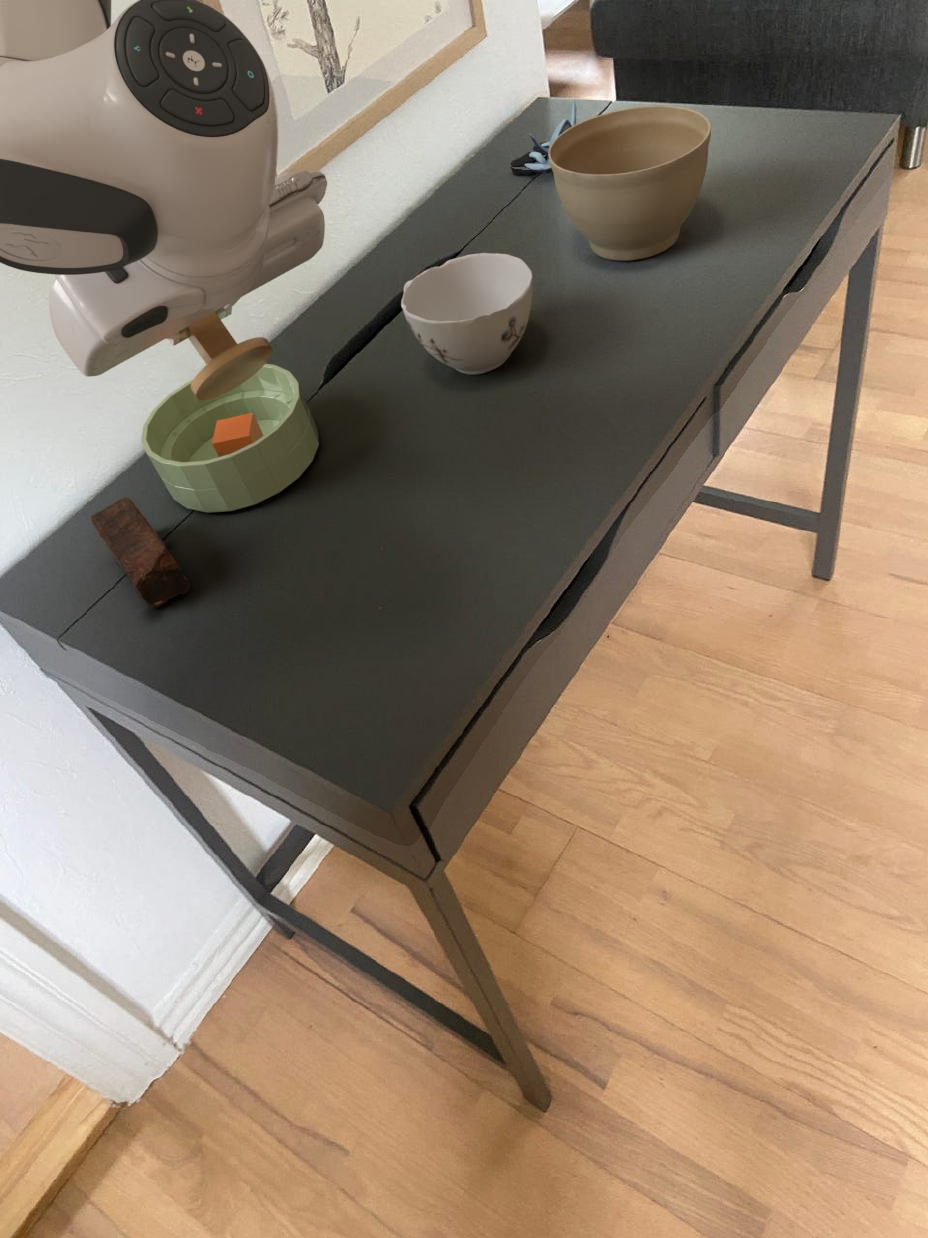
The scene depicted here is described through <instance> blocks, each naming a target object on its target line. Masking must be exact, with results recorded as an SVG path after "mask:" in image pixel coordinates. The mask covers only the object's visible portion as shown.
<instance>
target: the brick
mask: <svg viewBox="0 0 928 1238" xmlns="http://www.w3.org/2000/svg"><path fill="white" fill-rule="evenodd" d="M90 519H91V524H92V525H93V527H94V528H95V530H96V531H97V533H98V535H99V537H100V538H101V539H102V540H103V541H104V543H105V545H106V547H107V548H108V550H109V551H110V552H111V554H112V556H113V557H114V558H115V560H116V561H117V563H118V564H119V566H120V567H121V569H122V570H123V572H124V574H125V575H126V576H127V578H128V580H130V582H131V583H132V587H133V588H134V589H135V591H137V592H138V594H139V597H140V598H141V599H142V600H143V602H145V604H146V605H147V606H148V609H152V610H156V609H158V608H159V607H162V606H163V605H164V604H165V603H167V601H168V600H170V599H173V598H174V597H177V596H179V595H185V594H186V593H188V592H189V590H190V588H191V583H190V581H189V579H188V578H187V576H186V575H185V573H184V572H183V570H182V568H181V566H180V565H179V563H178V562H177V560H176V559H175V558H174V556H173V555H172V554H171V552H170V550H169V548H167V546H166V544H165V543H164V541H163V540H162V539H161V537H160V536H159V534H158V533H157V532H156V530H155V529H154V527H152V525H151V523H149V521H148V520H147V518H146V517H145V516H144V514H142V512H141V511H140V509H139V508H138V506H137V505H136V504H135V502H134V501H133V500H132V499H130V497H126V496H125V497H121V498H120V499H118V500H116V501H115V502H113V503H112V504H110V505H108V506H106V507H105V508H103V509H102V510H99V511H98V512H95V514H93V515H91V516H90Z"/></svg>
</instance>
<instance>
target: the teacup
mask: <svg viewBox="0 0 928 1238" xmlns="http://www.w3.org/2000/svg"><path fill="white" fill-rule="evenodd" d="M402 291H403V295H402V298H401V302H400V306H401V309H402V312H403V314H404V317H405V320H406V322H407V324H408V326H409V328H410V329H411V332H412V333H413V335H414V336H415V338H416V339H417V341H418V342H419V344H420V345H421V347H423V348H424V349H425V351H427V352H428V354H430V355H431V356H432V357H434V358H435V359H436V360H437V361H439V362H441V363H442V364H443V365H446V366H448V367H450V368H452V369H455V370H456V371H457V372H459V373H462V374H465V375H483V374H485V373H488V372H491V371H492V370H493V371H494V370H495V369H497V368H499V367H501V366H502V365H503V364H504V363H505V362H506V361H507V360H508V359H509V358H510V357H511V354H512V352H513V351H514V350H515V349H516V347H517V346H518V345H519V343H520V341H521V339H522V337H523V336H524V333H525V331H526V329H527V326H528V323H529V320H530V316H531V309H532V305H533V304H532V303H533V302H532V301H533V272H532V269H531V268H530V267H529V266H528V264H526V263H525V261H524V260H523V259H522V258H520V257H517V256H513V255H511V254H507V253H499V252H495V253H492V252H491V253H490V252H480V253H473V254H466V255H463V256H459V257H455V258H452V259H449V260H446V262H444V263H443V264H441V265H440V266H434V267H430V268H428V269H426V270H424V271H422V272H421V273H419V274H417V275H416V276H415V277H414V278H413V279H410V280H408V281H406V283H405V284H404V286H403V290H402Z"/></svg>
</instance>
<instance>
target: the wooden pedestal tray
mask: <svg viewBox="0 0 928 1238" xmlns="http://www.w3.org/2000/svg"><path fill="white" fill-rule="evenodd" d="M188 328H189V330H190V334H189V335H190V337H189V338H187V339H188V341H189V342H190V343H191V345H192V346H193V347H194V349H195V351H196V352H197V353H198V355H199V356H200V357H201V358H202V360H203V362H204V363H205V366H203V367H202V368H201V369H200V371H198V372H197V374H196V375H195V376H194V377H193V379H192V380H193V381H192V383H191V390H192V392H193V393H194V395H195V396H196V397H197V398H198V399H199V400H208V399H212V398H215V397H218V396H221V395H223V394H225V393H227V392H229V391H231V390H233V389H234V388H236V387H238V386H239V385H241V384H242V383H244V382H245V381H246V380H248V379H249V378H250V377H252V376H253V375H254V374H255V373H257V372H258V371H259V370H260V369H261V368H262V367H263V366H264V365H265V364H267V363H268V361H269V360H270V359H271V357H272V356H273V355H272V354H273V351H274V349H273V346H272V345H271V344H270V342H269V340H268V339H267V338H265V337H262V336H257V337H251V338H249V339H246V340H244V341H241V342H239V343H237V341H236V339H235V338H234V336H233V335H232V333H230V331H229V330H228V328H227V326H226V325H225V324H224V322H223V321H222V319H221V320H220V318H219V317H218V315H217V314H216V312H213V313H211V314H210V315H208V316H206V317H204V318H202V319H200V320H199V321H197V322H195V323H193V324H191V325H190V326H188Z"/></svg>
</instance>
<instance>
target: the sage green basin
mask: <svg viewBox="0 0 928 1238" xmlns="http://www.w3.org/2000/svg"><path fill="white" fill-rule="evenodd" d="M192 381H193V379H192V380H189V381H187V382H185V383H184V384H182V385H181V386H180V387H178V388H177V389H175V390H174V391H172V392H171V393H169V394H167V396H166V397H164V398H163V400H162V401H160V403H158V405H156V407H154V408H153V409H152V411H151V412H150V414H149V416H148V417H147V419H146V421H145V422H144V424H143V426H142V431H141V440H140V441H141V444H142V446H143V449H144V451H145V453H146V454H147V457H148V458H149V460H150V461H151V463H152V465H153V467H154V468H155V470H156V472H157V474H158V475H159V477H160V479H161V480H162V482H163V485H165V487H166V489H167V491H168V492H169V494H170V496H171V497H172V500H174V501H175V502H177V503H179V504H180V505H182V506H183V507H184V508H186V509H188V510H193V511H198V512H203V513H223V512H233V511H236V510H240V509H243V508H247V507H251V506H254V505H257V504H259V503H261V502H263V501H265V500H267V499H269V498H271V497H273V496H275V495H277V494H279V493H281V492H282V491H283V490H285V489H286V488H287V487H289V486H290V485H291V484H292V483H294V482H296V481H297V480H298V479H299V478H300V477H301V476H302V474H303V473H305V471H306V470H307V469H308V467H309V466H310V465H311V464H312V462H313V461H314V459H315V456H316V454H317V451H318V448H319V446H320V440H319V431H318V428H317V425H316V422H315V419H314V417H313V415H312V413H311V410H310V408H309V405H308V403H307V400H306V398H305V396H304V395H305V394H304V393H303V390H302V388H301V385H300V382H299V381H298V380H297V379H296V377H295V376H294V375H293V374H292V373H291V371H290V370H287V369H285V368H283V367H281V366H279V365H276V364H271V363H266V364H265V365H264V366H263V367H262V368H261V369H260V370H259V371H258V372H257V373H255V374H254V375H253V376H252V377H250V378H249V379H248V380H246V381H245V382H244V383H242V384H241V385H239V386H238V387H236V388H234V389H233V390H231V391H229V392H227V393H225V394H223V395H221V396H218V397H215V398H212V399H208V400H199V399H198V398H197V397H196V396H195V395H194V393H193V392H192V390H191V383H192ZM250 413H253V414H254V416H255V418H256V420H257V422H258V424H259V427H260V429H261V431H262V433H263V435H264V436H263V437H261V438H260V439H258V440H257V441H256V442H254V443H252V444H250V445H248V446H246V447H244V448H242V449H240V450H238V451H235V452H233V453H231V454H228V455H224V456H221V457H219V456H218V454H217V452H216V450H215V448H214V446H213V445H212V441H213V437H214V432H215V428H216V423H217V420H222V419H226V418H231V417H236V416H240V415H245V414H250Z"/></svg>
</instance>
